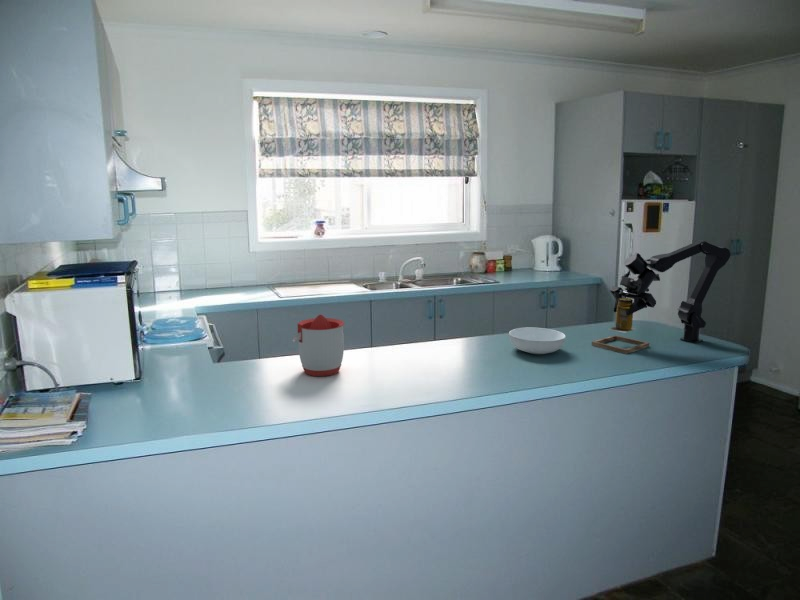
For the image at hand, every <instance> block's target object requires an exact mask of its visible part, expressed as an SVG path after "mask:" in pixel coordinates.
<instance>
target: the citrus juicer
mask: <svg viewBox="0 0 800 600" xmlns="http://www.w3.org/2000/svg"><path fill="white" fill-rule="evenodd" d="M344 325H345V322H344V321H343V320H341V319H337V318H331V317H330V318H328V317H325V316H324V315H323V314H321V313H320V314H318V315H317V316H316V317H315V318H308V319H304V320H301V321H299V322H298V323H297V333H296V334H294V335H293V336H292V342H294V343H295V342H298V355H299V359H300V363H301V367H302V370H303V371H304V373H305V374H306V375H309V376H312V377H325V376H326V377H327V376H333V375H336V374H337V373H338V372H340V369H341V367H342V362H343V358H344V351H345V349H344V347H345V345H344V344H345V343H344V342H345V341H344V340H345V339H344V338H345V337H344V336H345V335H344Z"/></svg>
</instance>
